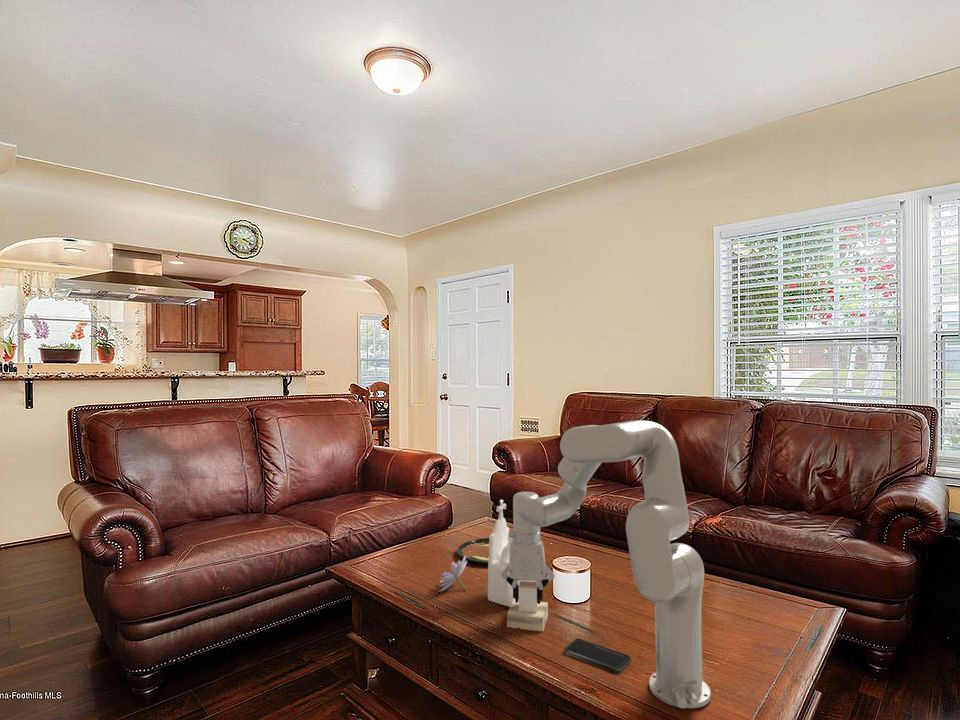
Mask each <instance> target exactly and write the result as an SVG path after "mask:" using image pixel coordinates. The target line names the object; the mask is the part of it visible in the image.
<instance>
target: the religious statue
mask: <svg viewBox="0 0 960 720" xmlns="http://www.w3.org/2000/svg"><path fill="white" fill-rule="evenodd" d="M499 504H500V505H499V506H498V505H497V506H496V512H497V513H498V518H497V519H496V521H495V522H494V526H493V529H492V532H491V533H490V534H489V537H488V538H489V557H488V564H487V575H488V576H487V577H488V578H487V599H488V601H489V602H490V601H492V602H491V603H493V602H495V603H494V604H497V603H498V604H497V605H501V606H505V607H508V608H510V606H511V604H512V602H513V600H514V599H515V598H513V588H512V586H511V585H510V584H509V583H508V582H507V580H506V579H504V578H503V577H502V576H501V572H502V571H503V570H504V568H505V567H506V566H507V565H508V564H509V554H510V545H511V542H512V540H513V538H511V537H509V532H510V528H509V527H508V525H507V520H506V519H505V517H504V511H503V510H506V509H507V504H506V503H504V499H500V500H499ZM547 527H550V525H548V526H547ZM507 574H508V575H509V572H508V573H507ZM517 583H518V585H519V584H520V580H518V582H517Z"/></svg>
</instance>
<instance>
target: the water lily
mask: <svg viewBox="0 0 960 720" xmlns="http://www.w3.org/2000/svg"><path fill="white" fill-rule="evenodd" d="M467 563H468V560H467V559H466V555H465V556H464V558H462V560H458V562H456V563H455V562H454V561H452V562H451V564H450V565H451V566H450V567H451V571H450V572H447V571H445V572H442V573H441V575H442V576H443V577H439V579H441V580H440V581H439V582H440V583H443V584H441V585H439V586H438V588H441V589H440V590H439V591H438V592H440V591H442V592H444V591H445V590H447V589H448V588H449V587H451V585H453V584H454V583H455V581H457V582H458V583H459V584H460V585H461V587H462V588H463V590H464V589H465V588H466V587H465V585H464V584H463V582H462V581H461V579H460V576H461V575H462V573H463V572H464V570H465V568H466V566H467ZM440 593H441V592H440Z"/></svg>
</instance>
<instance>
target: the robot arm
mask: <svg viewBox="0 0 960 720" xmlns="http://www.w3.org/2000/svg"><path fill="white" fill-rule="evenodd" d="M559 447H560V451H561V455H562V456H563V457H562V459H561V460H560V462H559V463H558V466H557V472H558V474H559V476H560V477H561V478H562V480H563V481H564V483H563V484H562V486H561V488H560V489H559V490H558V491H557V492H556V493H552V494H548V495H545V496H544V495H543V496H539V494H537V493H536V492H533V491H519V492H516V493H515V494H514V495H513V497H512V498H513V499H512V511H513V512H512V514H513V517H512V519H513V530H512V531H509V537H511V538H513V540H512V542H511V545H510V554H509V564H508V565H507V566H506V567H505V568H504V570H503V571H502V572H501V576H502V577H503V578H504V579H506V580H507V582H508V583H509V584H510V585H511V586H512V588H513V598H515V603H517V602H518V600H519V585H518V583H517V582H518V580H532V581H537V584H538V588H537V604H540V602H541V601H543V600H544V599H543V594H544V593H543V590H544V588H545V587H546V586H547V585H548V584H549V583H550V582H551V581H552V580H553V579H555V573H554V572H553V571H552V570H551V568H550V567H549V566H547V564H546V554H545V547H544V543H543V541H542V540H541V528H543V527H549V526H551V525H554V524H557V523H560V522H563V521H565V520H568V519H570V518H571V517H572V516H573V515H574V514H575V513H576V511H578V509H579V507H580V506H581V505H582V503H583V502H584V501H585V498H586V496H587V490H588V487H587V486H588V485H587V484H588V483H589V480H590V479H591V478H592V477H593V475H594V474H595V472H596V471H597V470H598V468H599V467H600V466H601V464H602V463H615V462H617V463H618V462H623V461H628V460H632V459H637V458H640V457H641V458H642V459H643V465H642V466H643V467H642V475H641V477H642V484H643V490H644V500H643V501H640V502H637V503H636V504H635V505H633V506H632V507H631V508H630V509H629V511H628V514H627V517H626V521H625V531H626V539H627V545H628V552H629V558H630V559H629V560H630V565H631V571H632V575H633V580H634V583H635V585H636V587H637V590H638V591H639V592H640V594H641V595H642V596H643V597H644V598H645V599H647V600H648V601H650V602H652V603H655V604H654V624H655V626H654V628H655V633H654V634H655V636H654V637H655V672H654V673H652V674H651V675H650V677H649V678H648V679H649V680H648V685H649V686H648V688H649V690H650V692H651V693H652V695H654V696H655V697H656V698H657V699H659V700H660V701H661V702H662V703H665V704H668V705H669V706H672V707H676V708H680V709H689V710H691V709H698V708H699V709H700V708H702V707H705V706H706V705H708V704H709V702H710V701H711V698H712V697H711V696H712V694H711V689H710V687H709V685H708V684H707V683H706V682H705V681H704V679H703V678H704V677H703V646H702V645H703V643H702V642H703V639H702V638H703V637H702V599H703V590H704V582H705V568H704V567H705V566H704V563H703V559H702V557H701V556H700V554H699V553H698V552H697V551H696V550H695V548H693V547H692V546H690V545H688V544H685V543H681V542H674V543H671V542H672V541H674V540H676V539H678V538H680V537H682V536H684V535H685V534H686V533H687V532H688V530H689V528H690V524H691V523H690V522H691V521H690V515H689V509H688V503H687V497H686V493H685V486H684V482H683V476H682V470H681V462H680V454H679V450H678V445H677V443H676V441H675V438H674V437H673V435H672V434H671V432H669V430H668V429H666V428H665V427H664V426H663V425H661V424H659V423H657V422H655V421H650V420H645V419H639V420H629V421H624V422H623V421H622V422H615V423H614V422H613V423H610V424H609V423H608V424H607V423H606V424H603V425H602V424H601V425H598V424H589V425H581V426H574V427H570V428H569V429H568V430H566V431H565V432H564V433H563V435H562V437H561V439H560V443H559ZM548 525H549V526H548ZM508 572H509V575H508V574H507V573H508ZM546 575H547V576H546Z"/></svg>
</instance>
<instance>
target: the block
mask: <svg viewBox="0 0 960 720" xmlns="http://www.w3.org/2000/svg"><path fill="white" fill-rule="evenodd" d="M548 617H549V602H547V601H540V604H538V607H537V613H534V612H522V611H519V600H518V602H517V603H515V599H514V600H513V602H512V604H511V606H510V607H509V609H508V611H507V613H506V628H507V627H512V628H511V629H516V628H520V629H519V630H525V629H526V630H527V631H533V630H534V631H536V632H544V630H545V626H546V624H547V621H548Z"/></svg>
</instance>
